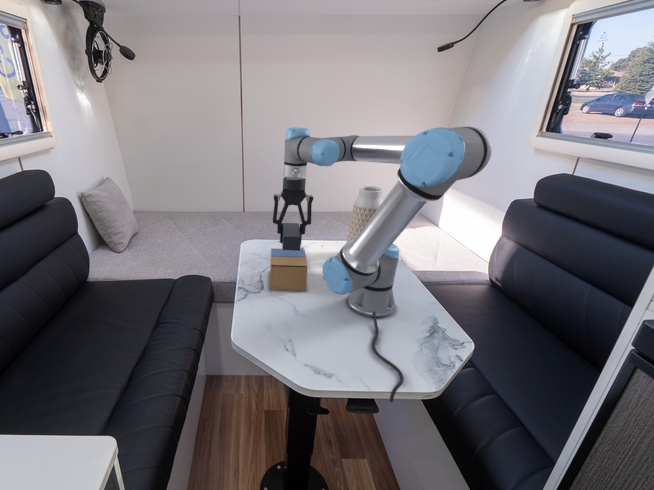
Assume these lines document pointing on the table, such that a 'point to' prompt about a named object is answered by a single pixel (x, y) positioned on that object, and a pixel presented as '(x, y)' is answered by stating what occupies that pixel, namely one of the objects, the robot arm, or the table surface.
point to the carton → (288, 273)
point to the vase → (364, 209)
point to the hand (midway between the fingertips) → (290, 242)
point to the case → (291, 237)
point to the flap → (287, 253)
